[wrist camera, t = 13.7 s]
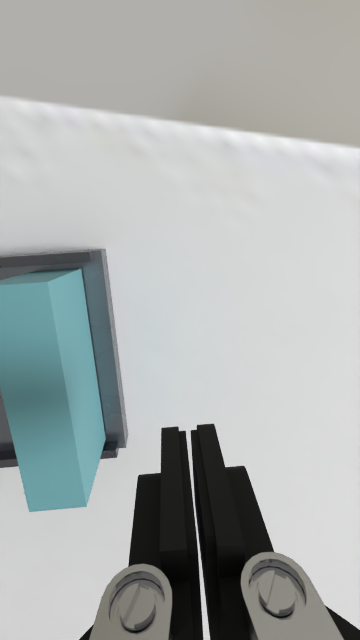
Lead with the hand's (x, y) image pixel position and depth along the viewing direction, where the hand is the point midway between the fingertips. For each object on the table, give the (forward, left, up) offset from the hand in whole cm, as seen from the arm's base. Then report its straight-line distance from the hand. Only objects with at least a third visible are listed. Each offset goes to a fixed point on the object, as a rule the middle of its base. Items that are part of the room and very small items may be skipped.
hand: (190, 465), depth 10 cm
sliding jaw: (-1, +7, -11) cm, 13 cm away
